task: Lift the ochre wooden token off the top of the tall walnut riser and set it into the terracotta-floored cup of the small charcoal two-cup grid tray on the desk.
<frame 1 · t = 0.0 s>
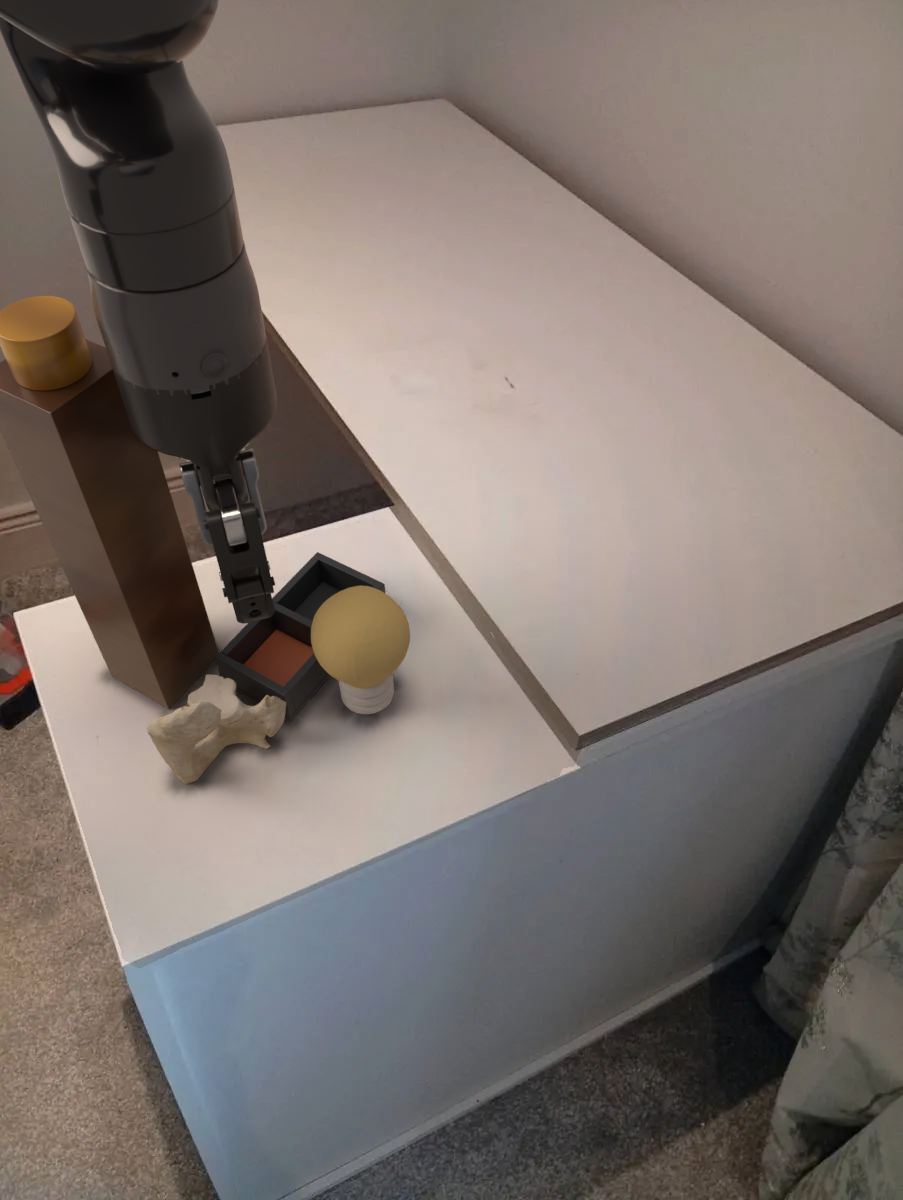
hand: (243, 565, 59), 13 cm above the table, tool pointing down, fingers open, 8 cm apart
light bulb: (368, 698, 69), on the table
riser: (166, 665, 71), on the table
grid: (307, 646, 72), on the table
token: (53, 367, 51), point 26 cm above the table, touching riser
bone: (226, 741, 67), on the table
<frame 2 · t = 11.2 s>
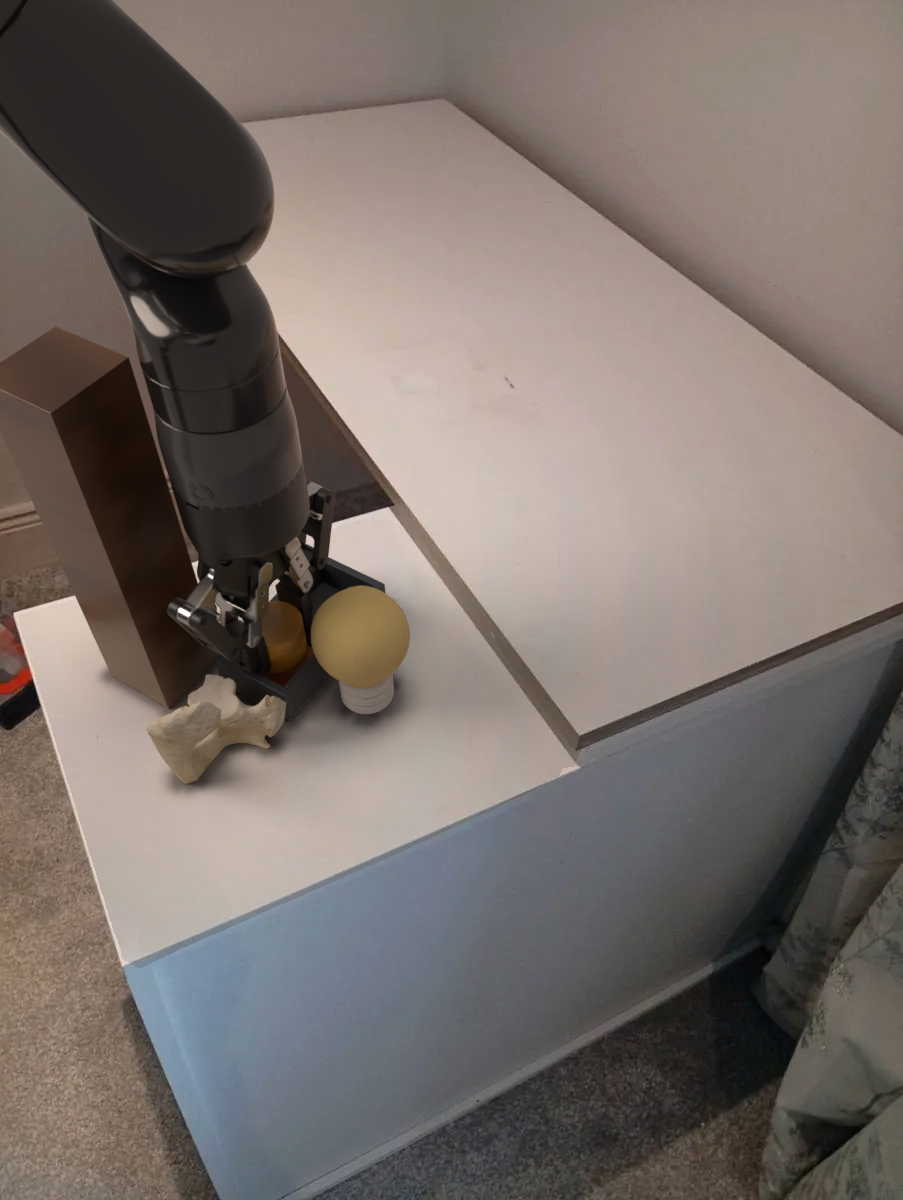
hand: (277, 644, 68), 3 cm above the table, tool pointing down, fingers closed on token, 4 cm apart
token: (278, 650, 68), point 3 cm above the table, touching gripper
everything else where it was.
when the fingers open (3 cm above the table, at t = 14.3 s): token drops 2 cm, resting on grid.
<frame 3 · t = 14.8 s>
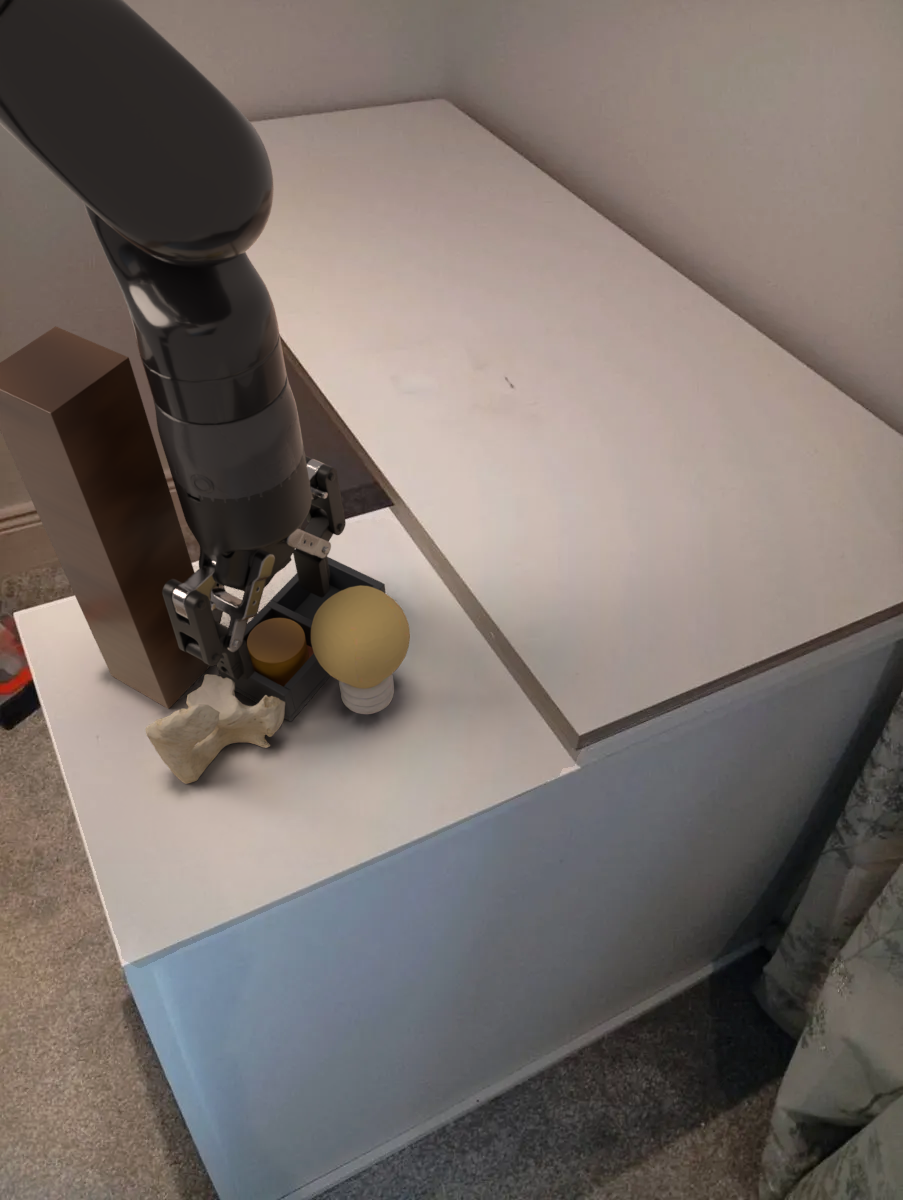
hand: (278, 629, 67), 5 cm above the table, tool pointing down, fingers open, 8 cm apart
token: (281, 665, 70), point 1 cm above the table, touching grid
bone: (226, 740, 67), on the table, touching gripper
everything else where it was.
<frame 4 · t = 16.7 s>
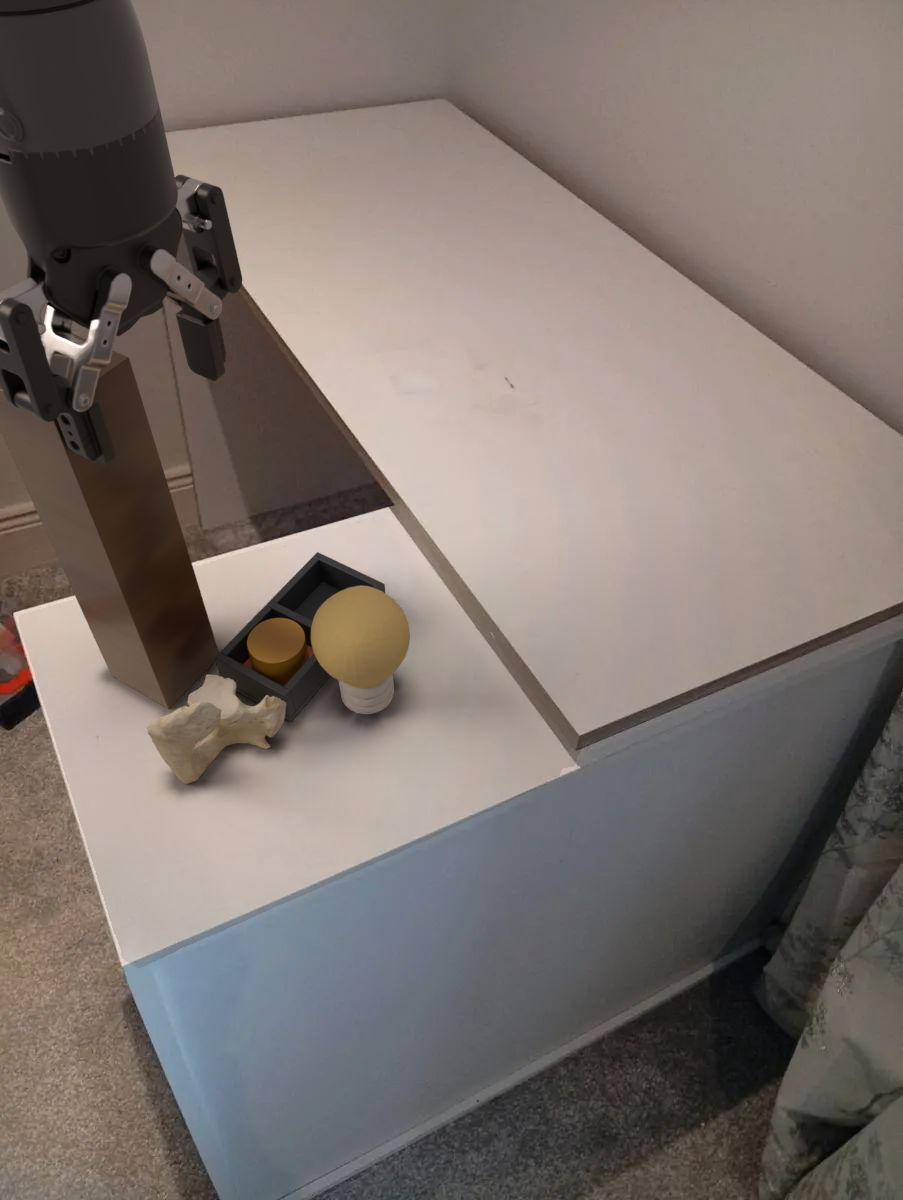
hand: (155, 413, 53), 23 cm above the table, tool pointing down, fingers open, 8 cm apart
bone: (226, 741, 67), on the table
everything else where it was.
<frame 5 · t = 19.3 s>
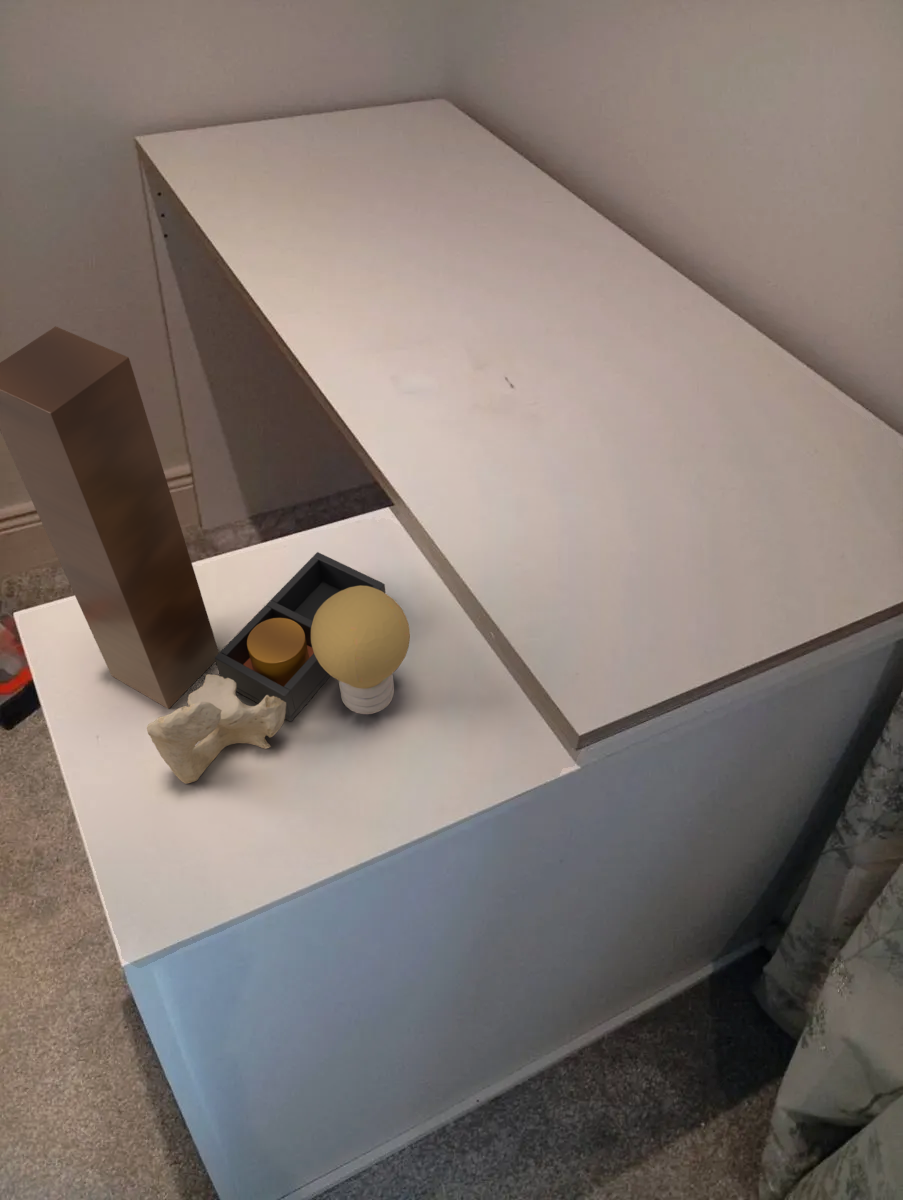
nothing on the table moved.
at the end: token 0.0 cm from the target spot in the grid, point 0.8 cm above the grid's base; the gripper is holding nothing; token tilted 0° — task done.
